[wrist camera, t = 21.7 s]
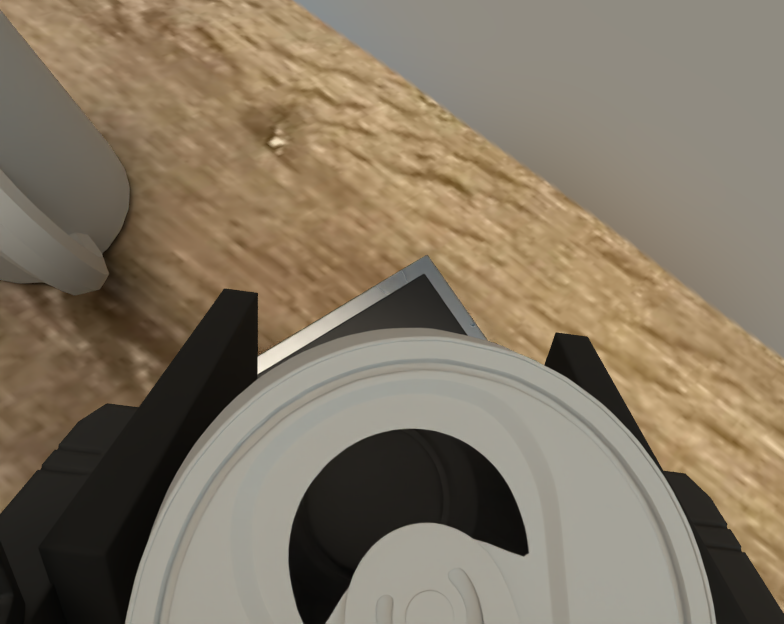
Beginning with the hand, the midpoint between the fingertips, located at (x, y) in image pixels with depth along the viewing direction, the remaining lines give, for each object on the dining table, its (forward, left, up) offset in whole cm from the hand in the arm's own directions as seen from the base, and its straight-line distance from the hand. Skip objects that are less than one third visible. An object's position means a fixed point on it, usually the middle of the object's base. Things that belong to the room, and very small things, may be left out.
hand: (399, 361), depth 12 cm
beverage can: (-3, +2, -5) cm, 6 cm away
